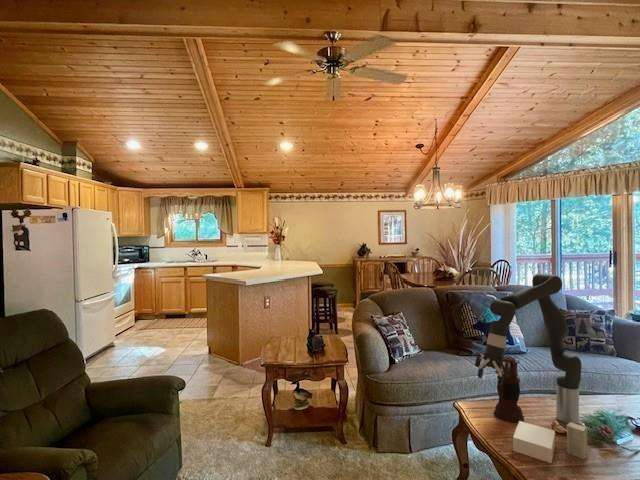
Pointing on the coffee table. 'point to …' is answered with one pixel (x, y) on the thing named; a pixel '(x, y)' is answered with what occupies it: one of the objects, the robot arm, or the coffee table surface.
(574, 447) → the skincare box
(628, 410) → the coffee table surface
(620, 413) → the coffee table surface
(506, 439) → the coffee table surface
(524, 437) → the cream box
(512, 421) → the dark brown tall piece
